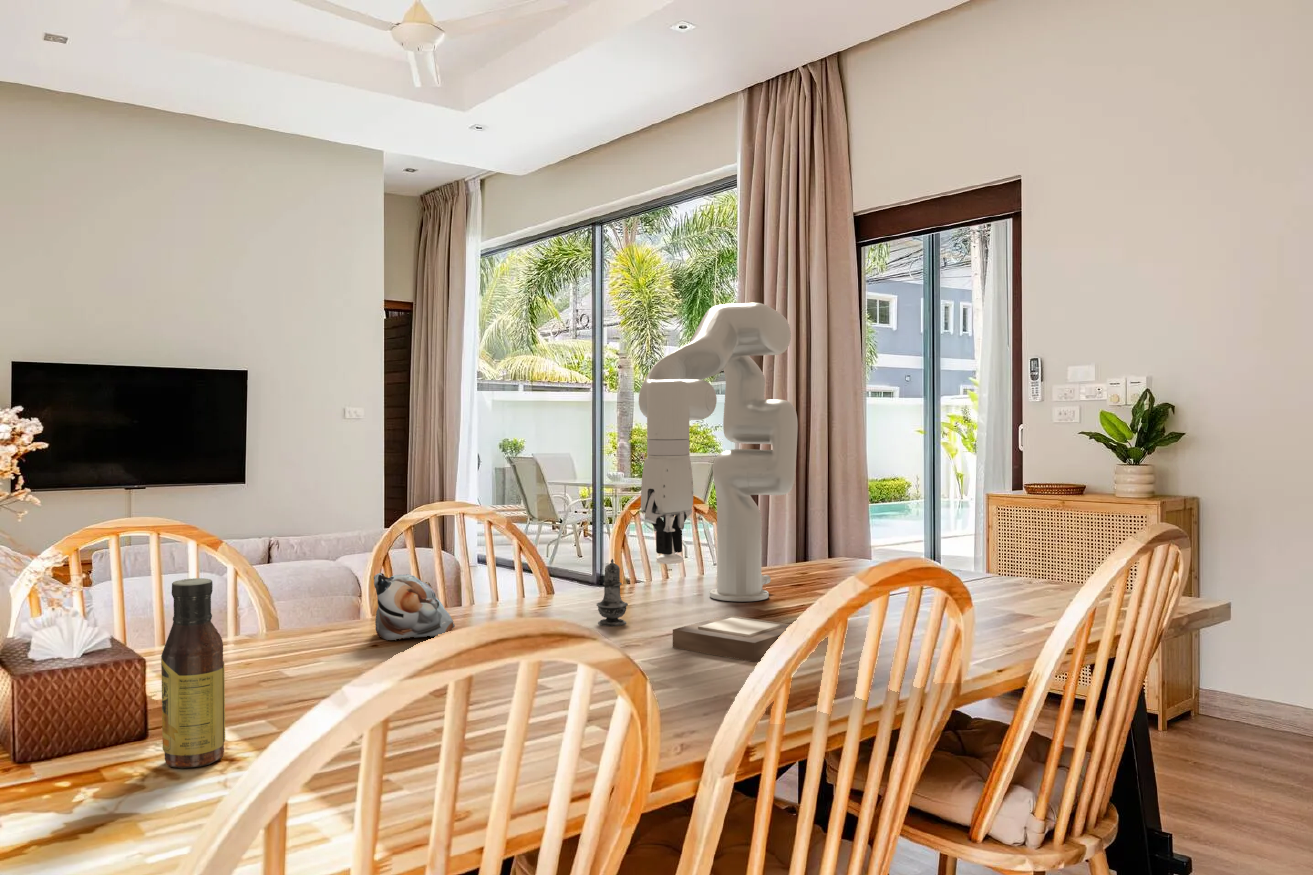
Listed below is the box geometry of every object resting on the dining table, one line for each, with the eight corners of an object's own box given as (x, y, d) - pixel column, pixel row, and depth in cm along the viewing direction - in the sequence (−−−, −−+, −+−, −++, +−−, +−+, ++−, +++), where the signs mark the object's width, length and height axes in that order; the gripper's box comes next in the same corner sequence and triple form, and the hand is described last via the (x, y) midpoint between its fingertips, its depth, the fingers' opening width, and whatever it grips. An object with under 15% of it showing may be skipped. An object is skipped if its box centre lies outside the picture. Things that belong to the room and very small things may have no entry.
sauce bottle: (176, 752, 112) (175, 575, 111) (233, 750, 112) (233, 575, 112) (151, 772, 105) (150, 585, 105) (212, 771, 106) (212, 584, 105)
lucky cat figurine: (470, 632, 176) (463, 569, 169) (419, 671, 167) (410, 606, 160) (410, 600, 183) (402, 539, 176) (359, 636, 174) (348, 572, 168)
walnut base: (727, 631, 177) (727, 612, 177) (805, 644, 167) (805, 624, 167) (672, 647, 165) (672, 626, 165) (754, 661, 155) (754, 640, 155)
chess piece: (687, 559, 179) (686, 504, 178) (678, 564, 174) (677, 507, 174) (661, 558, 180) (660, 503, 180) (652, 563, 176) (650, 507, 175)
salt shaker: (629, 620, 187) (629, 556, 187) (625, 626, 182) (625, 561, 181) (598, 619, 188) (599, 556, 188) (593, 626, 182) (594, 560, 182)
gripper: (678, 447, 185) (679, 545, 186) (623, 451, 173) (624, 556, 173) (711, 448, 180) (712, 549, 181) (657, 452, 168) (658, 560, 169)
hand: (669, 551), depth 177 cm, fingers closed on chess piece
